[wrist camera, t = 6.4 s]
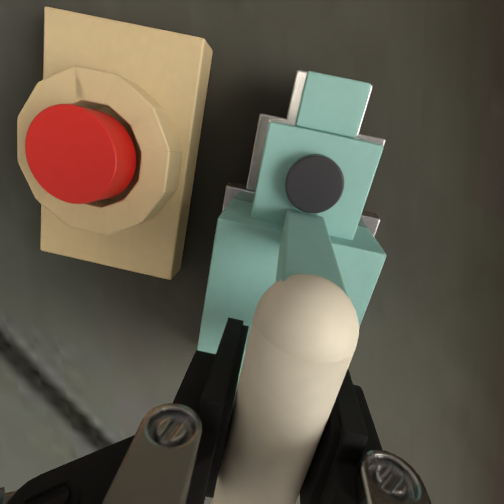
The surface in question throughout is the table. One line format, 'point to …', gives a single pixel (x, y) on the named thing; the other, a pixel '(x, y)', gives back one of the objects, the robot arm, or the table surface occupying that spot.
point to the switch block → (138, 127)
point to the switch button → (79, 153)
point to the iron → (293, 282)
